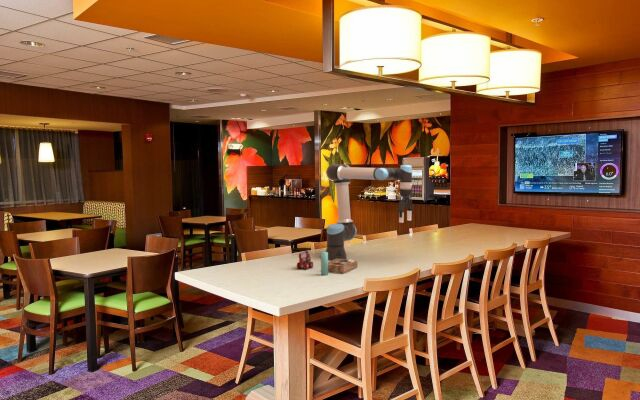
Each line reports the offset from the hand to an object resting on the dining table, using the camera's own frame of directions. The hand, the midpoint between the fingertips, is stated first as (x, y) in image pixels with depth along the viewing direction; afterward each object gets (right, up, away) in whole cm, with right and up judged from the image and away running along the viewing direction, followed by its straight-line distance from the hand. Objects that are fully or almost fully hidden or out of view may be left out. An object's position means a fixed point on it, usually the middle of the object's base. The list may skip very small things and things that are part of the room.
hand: (405, 221), depth 312 cm
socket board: (-43, -28, -20) cm, 56 cm away
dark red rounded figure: (-65, -28, -16) cm, 72 cm away
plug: (-53, -29, -34) cm, 70 cm away
